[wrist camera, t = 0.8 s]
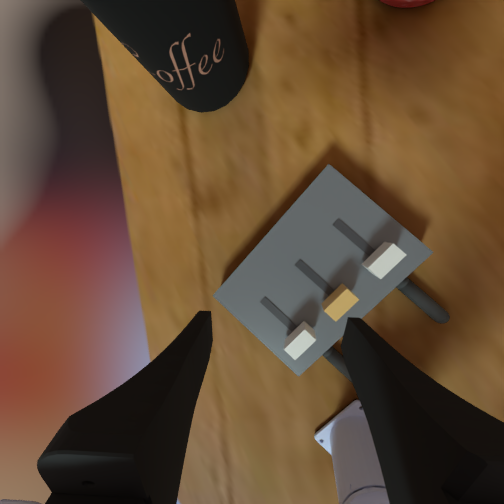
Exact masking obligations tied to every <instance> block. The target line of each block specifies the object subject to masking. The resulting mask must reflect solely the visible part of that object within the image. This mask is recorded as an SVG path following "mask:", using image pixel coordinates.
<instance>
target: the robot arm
mask: <svg viewBox="0 0 504 504" xmlns="http://www.w3.org/2000/svg"><path fill="white" fill-rule="evenodd" d="M212 342H213V336H212V320H211V311H199V312H198V313H197V314H196V315H195V316H194V318H193V319H192V320H191V321H190V323H189V324H188V325H187V326H186V327H185V328H184V330H183V331H182V332H181V333H180V334H179V335H178V336H177V337H176V338H175V339H174V341H173V342H172V343H171V344H170V345H169V346H168V347H167V348H166V349H165V350H164V351H163V352H162V353H160V354H159V355H158V356H157V357H156V358H155V359H154V360H153V361H152V362H150V363H149V364H148V365H147V366H146V367H144V368H143V369H142V370H141V371H139V372H138V373H137V374H136V375H134V376H133V377H132V378H130V379H129V380H128V381H126V382H125V383H124V384H122V385H120V386H119V387H118V388H116V389H114V390H113V391H111V392H110V393H108V394H107V395H105V396H104V397H102V398H100V399H99V400H97V401H95V402H94V403H92V404H90V405H88V406H87V407H85V408H83V409H81V410H80V411H78V412H76V413H74V414H73V415H71V416H69V418H68V419H67V420H66V421H65V423H64V424H63V425H62V427H61V428H60V429H59V431H58V432H57V433H56V435H55V436H54V438H53V439H52V441H51V442H50V443H49V445H48V446H47V448H46V449H45V451H44V452H43V453H42V455H41V456H40V458H39V459H38V462H37V468H38V471H39V473H40V475H41V477H42V478H43V480H44V481H45V483H46V484H47V485H48V487H49V488H50V490H51V492H52V493H51V495H50V497H49V498H48V500H47V502H46V503H45V504H176V502H177V497H178V491H179V485H180V480H181V474H182V469H183V463H184V458H185V453H186V448H187V443H188V438H189V433H190V428H191V423H192V418H193V414H194V409H195V406H196V402H197V398H198V395H199V392H200V388H201V385H202V382H203V379H204V375H205V372H206V369H207V365H208V362H209V358H210V353H211V347H212ZM341 349H342V353H343V357H344V361H345V365H346V367H347V370H348V373H349V375H350V378H351V380H352V383H353V385H354V388H355V390H356V393H357V395H358V398H359V400H355V401H353V402H352V403H351V404H350V405H349V406H347V407H346V408H345V409H344V410H343V411H341V412H340V413H339V414H338V415H337V416H335V417H334V418H333V419H332V420H331V421H329V422H328V423H327V424H326V425H325V426H323V427H322V428H321V429H320V430H319V431H317V432H316V433H315V435H314V436H315V440H316V441H317V442H318V443H319V444H320V445H321V446H323V447H324V448H325V449H326V450H327V451H328V452H329V453H330V454H331V455H332V460H333V467H334V473H335V480H336V486H337V493H338V499H339V504H504V423H503V422H502V421H500V420H498V419H496V418H494V417H493V416H491V415H489V414H487V413H486V412H484V411H482V410H480V409H479V408H477V407H475V406H473V405H472V404H470V403H468V402H467V401H465V400H464V399H462V398H460V397H459V396H457V395H456V394H454V393H453V392H451V391H449V390H448V389H446V388H445V387H443V386H442V385H440V384H439V383H437V382H436V381H435V380H433V379H432V378H430V377H429V376H428V375H426V374H425V373H424V372H422V371H421V370H420V369H418V368H417V367H416V366H414V365H413V364H412V363H411V362H409V361H408V360H407V359H406V358H404V357H403V356H402V355H401V354H400V353H398V352H397V351H396V350H395V349H394V348H393V347H391V346H390V345H389V344H388V343H387V342H386V341H385V340H384V339H383V338H381V337H380V336H379V335H378V334H377V333H376V332H375V331H374V330H373V329H372V328H371V327H370V326H368V325H367V324H366V323H365V322H364V321H363V320H362V319H361V318H356V317H348V319H347V323H346V327H345V331H344V335H343V339H342V344H341ZM360 406H362V408H359V407H360ZM320 439H322V440H320ZM0 504H41V503H38V502H34V501H24V500H23V501H22V500H7V499H2V500H0Z"/></svg>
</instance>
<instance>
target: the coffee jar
mask: <svg viewBox="0 0 504 504" xmlns="http://www.w3.org/2000/svg"><path fill="white" fill-rule="evenodd" d="M81 1H82V2H83V3H84V4H85V5H86V6H87V8H88V9H89V10H90V11H91V12H92V13H93V14H94V15H95V16H96V17H97V18H98V19H99V20H100V21H101V22H102V23H103V24H104V25H105V26H106V28H107V29H108V30H109V31H110V32H111V33H112V34H113V35H114V36H115V37H116V38H117V39H118V40H119V41H120V42H121V43H122V44H123V45H124V46H125V48H126V49H127V50H128V51H129V52H130V53H131V54H132V55H133V56H134V57H135V58H136V59H137V60H138V61H139V62H140V63H141V64H142V65H143V66H144V68H145V69H146V70H147V71H148V72H149V73H150V74H151V75H152V76H153V77H154V78H155V79H156V80H157V81H158V82H159V83H160V84H161V85H162V86H163V88H164V89H165V90H166V91H167V92H168V93H169V94H170V95H171V96H172V97H173V98H174V99H175V100H176V101H177V102H178V103H180V104H181V105H182V106H184V107H185V108H187V109H189V110H193V111H197V112H209V111H215V110H217V109H219V108H221V107H224V106H226V105H227V104H228V103H229V102H230V101H231V100H232V99H233V98H234V97H236V96H237V94H238V92H239V91H240V89H241V87H242V86H243V84H244V81H245V78H246V74H247V70H248V67H249V56H248V47H247V43H246V40H245V36H244V32H243V29H242V25H241V21H240V18H239V14H238V10H237V7H236V3H235V0H81Z"/></svg>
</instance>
